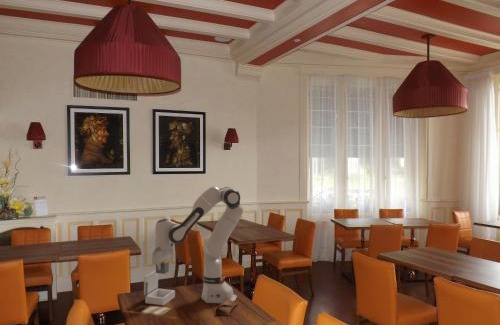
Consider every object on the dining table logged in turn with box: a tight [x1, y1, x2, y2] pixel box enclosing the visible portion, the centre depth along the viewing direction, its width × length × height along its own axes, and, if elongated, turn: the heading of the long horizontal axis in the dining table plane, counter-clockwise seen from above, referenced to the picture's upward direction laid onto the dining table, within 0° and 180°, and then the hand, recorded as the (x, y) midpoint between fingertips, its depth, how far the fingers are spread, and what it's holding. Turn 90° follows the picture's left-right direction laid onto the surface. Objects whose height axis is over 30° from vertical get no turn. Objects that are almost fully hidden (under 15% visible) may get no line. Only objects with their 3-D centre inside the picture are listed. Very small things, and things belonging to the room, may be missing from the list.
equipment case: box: [143, 269, 176, 306], centre depth 240 cm, size 13×15×17 cm
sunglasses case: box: [215, 298, 239, 316], centre depth 229 cm, size 18×7×7 cm, turn 166°
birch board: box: [140, 304, 172, 317], centre depth 224 cm, size 14×10×1 cm
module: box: [155, 259, 170, 275], centre depth 239 cm, size 6×5×7 cm
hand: (162, 268), depth 239 cm, fingers closed on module, 5 cm apart
